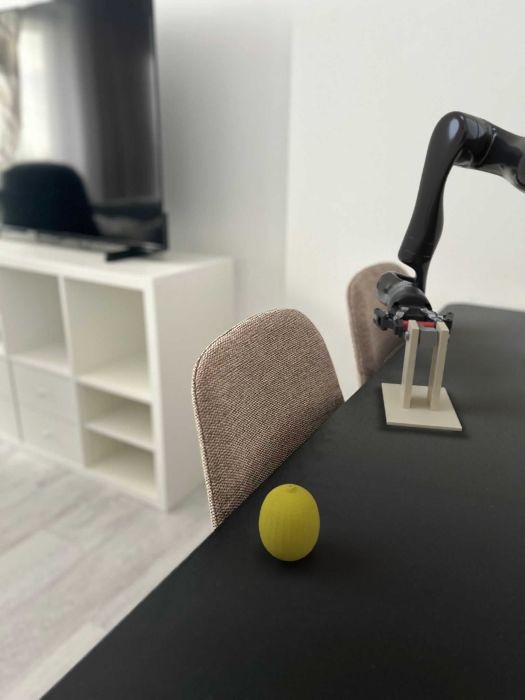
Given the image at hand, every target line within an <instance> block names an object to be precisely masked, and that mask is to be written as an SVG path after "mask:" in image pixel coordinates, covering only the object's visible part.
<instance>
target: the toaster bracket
mask: <svg viewBox="0 0 525 700" xmlns="http://www.w3.org/2000/svg"><path fill="white" fill-rule="evenodd" d="M436 330H437V338H436V347H432V355H431V356H432V357H431V362H430V363H431V364H430V371H429V377H428V386H427V385H415V384H414V385H413V383H414V376H415V375H414V374H415V368H416V359H417V351H418V335H419V327H418V325H417V323H416V320H409V323H408V331H405V333H404V341H405V350H404V358H403V366H402V367H403V368H402V375H401V383H390V382H389V383H388V382H387V383H386V382H381V391H382V398H383V405H384V413H385V419H386V425H387V426H388V425H389V426H399V427H400V426H401V427H411V428H423V429H424V428H425V429H434V430H445V431H459V432H463V426H462V425H461V422H460V420H459V418H458V415H457V413H456V410H455V408H454V406H453V403H452V401H451V398H450V397H449V393H448V392H447V389H446V388H445V387H442V385H443V378H444V377H443V376H444V371H445V364H446V356H447V349H448V344H449V343H450V335H451V334H450V335H449V329H448V328H447V326H446V325H445V323H444V322H437V325H436Z"/></svg>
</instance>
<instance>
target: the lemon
mask: <svg viewBox="0 0 525 700" xmlns="http://www.w3.org/2000/svg"><path fill="white" fill-rule="evenodd" d="M320 528H321V519H320V512H319V508H318V504H317V502H316V500H315V498H314V496H313V495H312V493H310V492H309V491H308V490H307V489H305V487H302V486H300V485H297V484H295V483H294V484H293V483H284V484H282V485H281V484H280V485H278V486H276V487H274V488H273V489H272V490H271V491H270V492H269V493H267V495H266V496H265V498H264V500H263V502H262V505H261V507H260V510H259V517H258V530H259V536H260V539H261V542H262V544H263V546H264V548H265V549H266V551H267V552H269V554H271V555H272V557H275V558H276V559H278V560H281V561H284V562H285V561H286V562H295V561H298V560H301V559H303V558H305V557H306V556H307V555H308V554H310V553H311V552H312V550H313V549H314V547H315V546H316V544H317V541H318V538H319V533H320Z"/></svg>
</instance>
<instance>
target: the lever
mask: <svg viewBox="0 0 525 700" xmlns="http://www.w3.org/2000/svg"><path fill="white" fill-rule="evenodd" d="M402 322H403V324H404V330H408V323H409V321H402ZM416 323H417V325H418V327H419V335H418V343H417V346H419V347H421V348H433V347H436V338H437V330H436V329H435V328H434V322H418V321H416Z"/></svg>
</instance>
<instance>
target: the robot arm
mask: <svg viewBox="0 0 525 700" xmlns="http://www.w3.org/2000/svg"><path fill="white" fill-rule="evenodd" d="M453 167H458V168H462V169H465V170H474V171H480V172H484V173H487V174H490V175H494V176H498V177H501V178H502V179H504V180H505V181H506V182H508V183H509V184H510V185H511V186H512V187H513V188H514V189H516V190H517V191H519V192H521V193H523V194H524V195H525V136H523V135H519V134H516V133H514V132H511V131H509V130H507V129H504V128H503V127H500V126H499V125H497V124H494V123H492V122H491V121H489V120H487V119H485V118H482V117H479V116H475V115H473V114H470V113H467V112H463V111H460V110H452V111H449V112H447V113H445V114H444V115H443V116H442V117H440V119H439V120H438V121H437V123H436V124H435V126H434V128H433V130H432V132H431V135H430V138H429V142H428V145H427V149H426V154H425V159H424V163H423V166H422V171H421V172H422V173H421V177H420V180H419V185H418V190H417V195H416V199H415V204H414V207H413V210H412V214H411V217H410V220H409V223H408V226H407V228H406V230H405V233H404V235H403V238H402V241H401V244H400V246H399V249H398V250H397V251H398V252H397V260H398V261H399V262H400V263H402V264H403V265H405V266H407V267H409V268H411V269H412V270H413V271H414V276H411V275H408V274H404V273H401V272H398V271H394V270H387V271H385V272H383V273H382V274H381V275H380V276H379V278H378V279H377V282H376V285H375V295H376V298H377V300H378V302H380V303H381V304H382V305H383V306H384V307H386V310H387V311H386V310H385V309H382V308H380V307H375V308H373V318H372V323H373V324H374V325H375V326H376V327H377V328H378V329H379V330H380V331H382V332H385V331H386V332H387V331H388V329H390V330H391V332H392V334H393V335H394V336H396V337H397V338H398V339H403V336H404V334H405V331H408V330H404V324H403V322H402V321H409V320H416V321H418V322H434V328H435V329H436V325H437V322H444V323H445V325H446V326H447V328H448V329H449V335H451V334H452V328H453V322H454V317H455V313H454V312H452V311H449V312H448V311H447V312H446V313H443V315H439V314H438V313H437V312H436V311H434V310H433V305H432V304H431V302H430V301H429V299H428V297H427V296H426V293H427V282H428V281H427V280H428V274H429V269H430V266H431V262H432V260H433V257H434V255H435V252H436V250H437V247H438V245H439V242H440V240H441V237H442V235H443V231H444V225H445V210H444V209H445V208H444V207H445V206H444V197H445V190H446V189H445V188H446V184H447V181H448V178H449V175H450V173H451V171H452V168H453Z"/></svg>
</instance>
